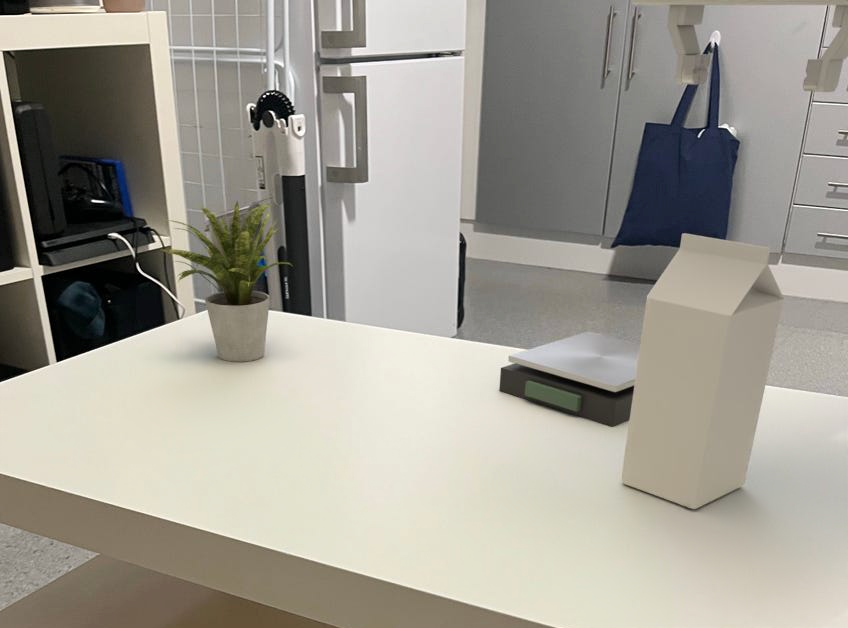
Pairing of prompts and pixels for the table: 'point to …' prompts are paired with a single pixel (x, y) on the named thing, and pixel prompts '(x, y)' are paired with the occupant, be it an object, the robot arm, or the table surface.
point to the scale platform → (586, 360)
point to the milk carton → (702, 371)
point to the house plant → (235, 284)
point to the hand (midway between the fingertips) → (751, 87)
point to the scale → (567, 394)
